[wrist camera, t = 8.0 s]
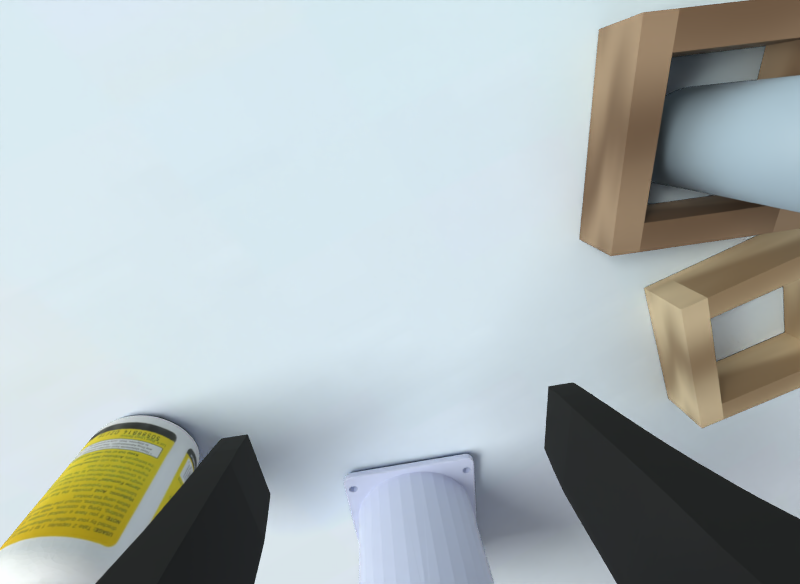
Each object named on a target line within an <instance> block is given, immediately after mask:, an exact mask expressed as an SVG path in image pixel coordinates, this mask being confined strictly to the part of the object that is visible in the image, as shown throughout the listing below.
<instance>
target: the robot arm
mask: <svg viewBox="0 0 800 584" xmlns="http://www.w3.org/2000/svg"><path fill="white" fill-rule="evenodd" d="M544 449H545V451H546V453H547V456H548V458H549V460H550V463H551V465H552V467H553V470H554V472H555V474H556V476H557V479H558V481H559V483H560V485H561V487H562V489H563V491H564V493H565V495H566V497H567V498H568V500H569V502H570V504H571V505H572V507H573V509H574V511H575V512H576V514H577V516H578V518H579V519H580V521H581V523H582V525H583V526H584V528H585V530H586V531H587V533H588V535H589V536H590V538H591V540H592V542H593V543H594V545H595V547H596V548H597V550H598V552H599V554H600V555H601V557H602V559H603V560H604V562H605V564H606V565H607V567H608V569H609V571H610V572H611V574H612V576H613V577H614V579H615V581H616V583H617V584H800V519H799V518H797V517H795V516H793V515H791V514H789V513H787V512H785V511H783V510H781V509H779V508H778V507H776V506H774V505H772V504H770V503H768V502H766V501H764V500H762V499H760V498H758V497H757V496H755V495H753V494H751V493H749V492H748V491H746V490H744V489H742V488H740V487H738V486H737V485H735V484H733V483H731V482H730V481H728V480H726V479H725V478H723V477H721V476H719V475H718V474H716V473H714V472H713V471H711V470H709V469H707V468H706V467H704V466H702V465H701V464H699V463H697V462H696V461H694V460H692V459H691V458H689V457H687V456H686V455H684V454H682V453H681V452H679V451H678V450H676V449H674V448H673V447H671V446H669V445H668V444H666V443H665V442H663V441H662V440H660V439H658V438H657V437H655V436H654V435H652V434H651V433H649V432H647V431H646V430H644V429H643V428H641V427H640V426H638V425H637V424H635V423H634V422H632V421H631V420H629V419H628V418H626V417H625V416H623V415H622V414H620V413H619V412H617V411H616V410H614V409H613V408H611V407H610V406H608V405H607V404H605V403H604V402H602V401H601V400H599V399H598V398H596V397H595V396H593V395H592V394H590V393H589V392H587V391H586V390H584V389H583V388H581V387H579V386H578V385H576V384H575V383H567V384H561V385H555V386H549V388H548V403H547V417H546V432H545V446H544ZM465 467H466V468H465ZM352 486H354V487H352ZM344 487H345V491H346V495H347V499H348V503H349V507H350V510H351V514H352V518H353V522H354V526H355V530H356V534H357V538H358V542H359V584H494V581H493V578H492V574H491V571H490V567H489V564H488V561H487V557H486V554H485V550H484V547H483V544H482V540H481V537H480V533H479V530H478V527H477V523H476V500H475V475H474V461H473V458H472V456H471V455H469V454H461V455H455V456H449V457H443V458H437V459H431V460H425V461H419V462H413V463H407V464H401V465H395V466H389V467H383V468H377V469H371V470H365V471H359V472H353V473H349V474H347V475H346V476H345V477H344ZM269 501H270V492H269V489H268V487H267V484H266V481H265V479H264V476H263V474H262V471H261V468H260V466H259V463H258V461H257V458H256V455H255V453H254V450H253V447H252V445H251V442H250V440H249V437H248V435H242V436H235V437H229V438H223V439H221V440H220V441H219V442H218V443H217V444H216V445H215V447H214V448H213V449H212V450H211V451H210V452H209V454H208V455H207V456H206V457H205V458H204V460H203V461H202V462H201V463H200V464H199V466H198V467H197V468H196V469H195V470H194V472H193V473H192V474H191V475H190V476H189V478H188V479H187V480H186V481H185V482H184V484H183V485H182V486H181V487H180V488H179V490H178V491H177V492H176V493H175V494H174V496H173V497H172V498H171V499H170V500H169V501H168V503H167V504H166V505H165V506H164V507H163V508H162V510H161V511H160V512H159V513H158V514H157V515H156V517H155V518H154V519H153V520H152V521H151V522H150V524H149V525H148V526H147V527H146V528H145V529H144V531H143V532H142V533H141V534H140V535H139V536H138V537H137V538H136V539H135V541H134V542H133V543H132V544H131V545H130V546H129V547H128V548H127V549H126V550H125V551H124V553H123V554H122V555H121V556H120V557H119V558H118V559H117V560H116V561H115V562H114V564H113V565H112V566H111V567H110V568H109V569H108V570H107V571H106V572H105V573H104V575H103V576H102V577H101V578H100V579H99V580H98V581H97V582H96V583H95V584H254V582H255V578H256V574H257V570H258V566H259V562H260V557H261V553H262V549H263V545H264V539H265V532H266V525H267V518H268V510H269Z"/></svg>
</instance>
